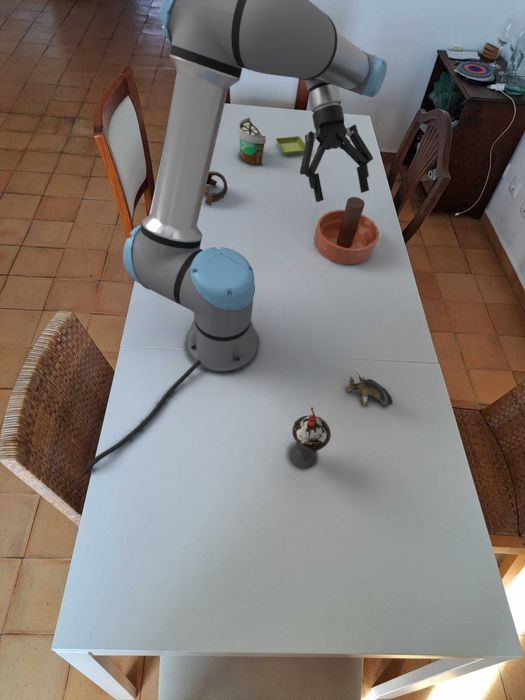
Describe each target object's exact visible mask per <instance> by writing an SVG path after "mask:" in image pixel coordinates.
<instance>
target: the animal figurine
mask: <svg viewBox="0 0 525 700" xmlns="http://www.w3.org/2000/svg"><path fill="white" fill-rule="evenodd" d="M355 371H356V373H357V375H358V379H359V382H357V383H355V379H354V378H353V377H352V376H351V375H350V376H349V378H350V379H349V380H348V381H349V382H348V383H349V386H348V389H347V393H351V392H353V391H355V390H357V391H358V390H360V394H361V398H362V406H365V405H366V404H367V402H368V395H370V396H374V397H375V399H376V400H378V401H379V402H380V403H381V404H382V405H383V406H392V405H393V398H392V397H391V395H390V394H389V392H388V391H387V390H386V388H385V387H383V386H382V385H381V384H379V382H377V381H375V380H373V379H371V378H365V377H364V376H363V375H362V374H361V373H360V371H359V370H358V368H355Z"/></svg>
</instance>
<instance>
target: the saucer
mask: <svg viewBox="0 0 525 700" xmlns="http://www.w3.org/2000/svg"><path fill="white" fill-rule="evenodd" d="M275 141H276V143H277V145H278V146H279V148H280V149H281V151H282V153H283V155H285V156H294V155H295V156H296V155H303V154H304V149H305V145H306V143H305V142H304V140H303V139H302V138H301V136H299V135H298V136H297V135H296V136H288V137H287V136H285V137H276V138H275Z"/></svg>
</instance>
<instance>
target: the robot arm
mask: <svg viewBox="0 0 525 700" xmlns="http://www.w3.org/2000/svg"><path fill="white" fill-rule="evenodd" d="M159 11H160V13H159V14H160V15H159V16H160V22H161V23H162V26H161V29H162V32H163V35H164V37H165V38H166V39H167V40H168V41H169V43H170V51H169V58H170V60H171V62H172V64H173V66H174V68H175V70H176V71H175V72H176V75H175V80H174V85H173V86H174V87H173V91H172V97H171V103H170V110H169V114H168V120H167V125H166V130H165V131H166V132H165V137H164V143H163V147H162V148H163V150H162V154H161V159H160V165H159V171H158V177H157V183H156V188H155V194H154V199H153V204H152V211H151V213H150V214H149V215H147V216H146V217H143V219H141V224H139V225H137V226H135V227H134V228H133V229H131V232H129V237H128V238H127V237H126V239H125V243H124V247H123V252H122V260H123V261H122V262H123V266H124V269H125V271H126V274H127V276H129V278H130V279H132V280H133V281H134V282H136V283H138V284H139V285H141V286H142V288H145V289H146V290H149V291H152V292H154V293H156V294H158V295H160V296H162V297H164V298H166V299H168V300H169V301H172V302H173V303H176V304H178V305H180V306H182V307H184V308H185V309H188V310H189V311H192V312H193V317H194V319H193V322H192V324H191V326H190V328H189V331H188V333H187V341H186V342H187V350H188V353H189V355H190V357H191V359H192V360H193V361H194V363H193V364H192V365H191V367H189V369H187V370H186V371H185V372H184V373H183V374H182V375H181V376H180V378H178V379H177V380H176V382H174V383H173V384H172V386H171V387H170V388H168V390H167V391H166V392H165V394H164V395H163V396H162V397H161V399H160V400H159V401H158V403H157V405H155V407H154V408H153V410H151V412H150V413H148V415H147V416H146V417H145V418H144V419H143V420H142V421H141V422H140V423H139V424H138V425H137V426H136V427H135V428H134V429H133V430H132V431H130V432H129V433H128V434H127V435H125V436H124V437H123V438H122V439H121V440H119V441H118V442H117V443H116V444H114V445H112V446H110V447H109V448H108V449H106V450H104V451H103V452H100V453H99V454H98V455H97V456H95V457H93V459H91V460H90V462H89V463H88V464H87V465H86V467H85V468H84V470H83V472H82V474H83V475H84V476H85V475H88V474H89V472H90V471H91V469H92V468H93V467H94V466H95V465H96V464H97V463H98V462H99V461H101V460H102V459H103V458H105V457H107V456H109V455H110V454H112V453H113V452H115V451H116V450H118V449H120V448H121V447H123V445H125V444H126V443H128V442H129V441H130V440H131V439H132V438H133V437H134V436H136V434H138V433H139V432H140V431H141V430H142V429H144V427H145V426H146V425H147V424H148V423H149V422H150V421H151V420H152V419H153V418H154V417H155V416H156V414H157V413H158V412H159V410H160V409H161V408H162V406H163V405H164V403H165V402H166V401H167V399H168V398H169V397H170V396H171V395H172V393H173V392H174V391H175V390H176V389H178V387H179V386H180V385H181V384H182V383H183V382H184V381H185V380H186V379H187V378H188V377H189V376H190V375H191V374H192V373H193V372H194V371H195V370H196V368H198V367H201V368H202V369H205V370H207V371H210V372H214V373H232V372H235V371H238V370H240V369H243V368H244V367H246V366H247V365H248V364H249V363H250V362H251V361H252V360H253V359H254V357H255V355H256V353H257V349H258V336H257V331H256V329H255V327H254V324H253V322H252V317H253V315H252V314H253V305H254V297H255V293H256V285H255V272H254V270H253V267H252V264H251V263H250V262H249V261H248V259H247V258H246V257H245V256H244V255H242V254H241V253H240V252H237V251H236V250H234V249H231V248H228V247H222V246H220V247H219V249H218V248H217V247H216V246H214V247H207V248H205V249H202V248H201V244H202V241H203V240H202V239H203V233H202V231H201V230H200V229H199V227H198V222H199V218H200V212H201V208H202V205H203V200H204V197H205V195H204V192H205V187H206V188H207V185H206V183H207V179H208V174H209V172H210V171H211V165H212V161H213V157H214V152H215V148H216V144H217V139H218V136H219V135H218V134H219V130H220V126H221V121H222V117H223V113H224V109H225V104H226V100H227V95H228V91H229V89H230V88H231V87H232V86H234V85H236V84H237V83H238V82H240V80H241V75H242V72H243V69H245V70H248V71H252V72H256V73H259V74H264V75H271V76H278V77H285V78H293V79H298V80H302V81H305V84H306V90H307V95H308V101H309V105H310V111H311V112H312V121H313V127H314V129H315V132H313V131H312V130H310V131H309V132H308V133H306V134H305V135H304V141H305V142H304V144H305V149H304V153H303V154H302V158H301V164H300V169H299V174H300V175H305V177H307V178H308V182H309V183H308V184H309V187H310V189H311V190H313V194H314V198H315V203H319V202H322V201H324V193H323V190H322V185H321V178H320V175H319V174H320V173H319V172H317V170H318V167H319V165H320V163H321V160H322V158H323V156H324V154H325V152H326V151H329V150H332V149H334V150H336V149H340V150H343V151H344V152H345V153H346V154H347V155H348V157H350V158H351V159H352V160H353V161H354V162H355V164H357V165H358V166H357V167H356V173H357V177H358V183H359V189H360V193H361V194H363V193H366V192H369V191H370V187H369V182H368V178H369V177H370V174H369V173H370V172H369V169H368V168H369V167H368V164H369V163H371V161H373V160H374V156H373V155H372V153H371V151H370V150H369V148H368V147H367V145H366V143H365V142H364V140H363V139H362V136H361V135H360V134H359V130H358V127H357V125H356V124H353V125H350V126H348V127H346V126H345V115H344V110H343V106H342V105H341V104H342V98H341V94H340V89H339V88H341V89H344V90H347V91H348V92H349V91H350V92H352V93H355V94H358V95H360V96H365V97H368V98H374V97H375V96H377V95H378V94H379V92H380V90H381V88H382V86H383V85H384V81H385V78H386V75H387V71H388V62H387V61H386V59H385V58H382V57H380V56H377V55H376V54H370V53H368V52H365V50H363V49H361V48H360V47H358V46H357V45H355V44H354V43H353V42H351V41H350V40H349V39H348V38H346V37H345V36H344V35H342V34H341V33H340V32H338V31H337V28H336V25H335V23H334V21H333V20H332V19H331V17H330V15H328V14H327V13H325V12H324V11H323V10H322V9H320V7H318V6H317V5H315V4H314V3H313V2H312V1H310V0H160V9H159ZM348 137H349V138H348ZM315 142H318V143H319V144H318V146H317V148H316V152H315V154H314V156H313V158H312V154H313V150H314V145H315Z"/></svg>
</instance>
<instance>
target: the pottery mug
mask: <svg viewBox="0 0 525 700" xmlns="http://www.w3.org/2000/svg"><path fill="white" fill-rule="evenodd" d="M214 176H217V177H218V178H219V179H221V181H222V182H223V187H222V189H221V190H220V191H218V192H212V193H211V194H210V193H209V189H207V185H209V186H212V187H216V186H217V183H218V181H217V180H215V179H214V178H213V177H214ZM228 189H229V187H228V183H227V180H226V178H225V176H224V175H223V174H221V172H218V171H214V170H212V171H211V170H209V174H208V179H207V183H206V187H205V192H204V197H205V200H204V203H205V204H206V205H209V206H210V205H212V204H215V203H217V202H219V201H221V200H222V199H224V198H225V196H226V195H227V192H228Z"/></svg>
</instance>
